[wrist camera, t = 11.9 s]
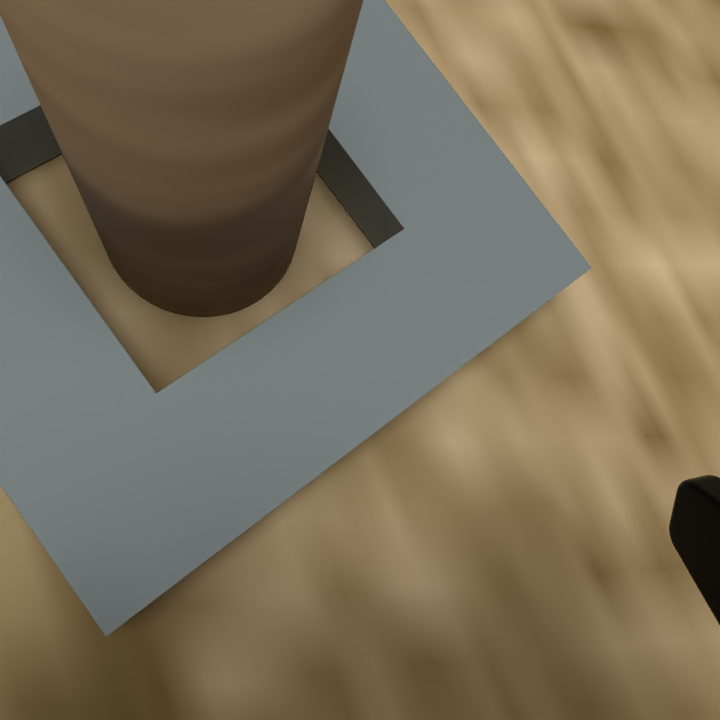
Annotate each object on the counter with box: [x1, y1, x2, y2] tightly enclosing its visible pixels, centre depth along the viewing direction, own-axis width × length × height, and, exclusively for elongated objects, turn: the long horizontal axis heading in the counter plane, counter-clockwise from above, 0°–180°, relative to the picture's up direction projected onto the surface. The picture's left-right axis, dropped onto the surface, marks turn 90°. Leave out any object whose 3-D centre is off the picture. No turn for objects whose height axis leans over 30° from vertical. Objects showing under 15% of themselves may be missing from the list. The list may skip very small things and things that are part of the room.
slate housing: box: [0, 0, 591, 636], centre depth 17 cm, size 14×14×2 cm
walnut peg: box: [0, 0, 363, 317], centre depth 12 cm, size 5×5×12 cm
